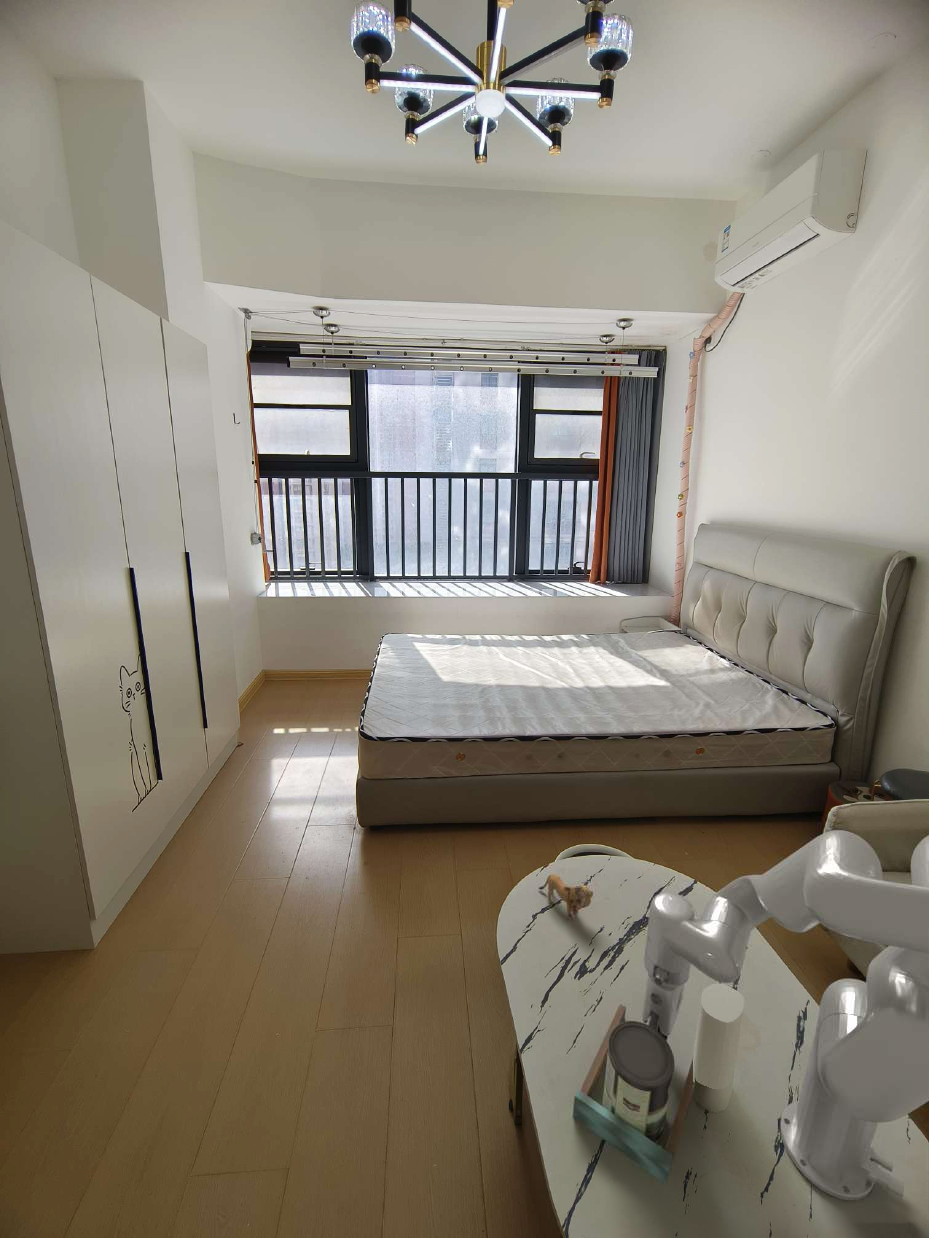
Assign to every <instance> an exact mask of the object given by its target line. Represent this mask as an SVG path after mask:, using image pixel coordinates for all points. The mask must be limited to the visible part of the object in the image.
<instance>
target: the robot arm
mask: <svg viewBox="0 0 929 1238" xmlns="http://www.w3.org/2000/svg"><path fill="white" fill-rule="evenodd" d="M910 860H911V861H910V874H911V884H908V883H902V882H901V883H900V882H895V881H887V880H884V879H883V868H882V865H881V864H882V863H881V861H880V859H879V857H878V855H877V853H876V851H875V849H874V848H873V847H872V845H870V844H869V843H868V842H867V841H866V840H865V839H863V838H862V837H861V836H860V835H857V834H856V833H853V832H850V831H848V830H843V829H841V830H840V829H839V830H837V829H834V830H831V831H830V830H829V831H826V832H823V833H822V834H820V835H818V836H816V837H815V838H813V839H811V841H809V842H807V843H806V844H805V845H804V846H801V848H799V849H798V850H796V851H795V852H794V853H791V854H790V855H789V856H787V857H786V858H784V859H782V861H780V862H779V863H777V864H775V865H774V866H773V867H772V868H770V869H769V870H767V871H765V872H764V873H762V874H751V875H744V876H740V877H737V878H736V879H734V880H733V881H730V882H729V883H728V884H727V885H725V886H724V887H723V888H721V889H720V890H718V891H717V892H716V893H714V894H713V895H712V896H711V897H710V898H709V900H707V902H706V904H705V906H704V908H703V909H702V913H701V915H700V919H699V920H698V916H697V912H696V908H695V907H694V906H693V904H692V903H691V902H690V901H689V900H688V899H687V898H686V897H684V896H682V895H681V894H679V893H678V894H677V893H676V892H667V891H664V892H660V893H659V894H656V895H655V896H654V897H653V898H652V900H651V903H650V906H649V913H648V921H647V932H646V939H645V947H644V957H643V958H644V959H643V967H644V970H645V971H646V972H647V974H648V975H647V980H646V984H645V985H646V987H645V992H644V1000H643V1006H642V1021H643V1023H644V1024H648V1025H649V1026H651V1027H652V1028H654V1029H655V1030H657V1031H658V1032H659V1033H660V1034H661V1035H662V1036H663V1037H664V1038H665V1040H666V1041H667V1042H668V1038H669V1036H670V1035H671V1034H672V1032H673V1029H674V1026H675V1023H676V1020H677V1017H678V1016H679V1015H678V1014H679V1013H680V1009H681V1005H682V1002H683V998H684V992H685V991H684V990H685V984H686V983H687V982H688V981H689V978H690V971H691V965H692V966H693V967H694V968H696V969H697V970H699V971H700V972H701V973H702V974H703V975H705V976H707V977H708V978H710V979H712V981H715V982H718V983H722V984H731V983H733V982H735V981H736V980H738V978H739V977H740V975H741V973H742V968H743V964H744V961H745V956H746V952H747V948H748V944H749V940H750V936H751V933H752V931H753V930H754V929H755V928H756V927H758V926H759V925H760V924H763V923H764V922H765V921H767V920H769V919H770V918H772V919H773V920H774V921H775V922H776V923H777V924H778V925H780V926H781V927H783V928H785V929H786V930H788V931H791V932H793V933H804V932H808V931H809V930H811V929H812V928H814V927H815V926H817V925H819V924H821V925H822V926H824V927H825V928H827V929H829V930H831V931H832V932H835V933H838V934H840V935H843V936H846V937H849V938H853V939H856V940H860V941H861V940H862V941H865V942H868V943H869V942H870V943H874V944H879V945H883V946H887V947H886V948H885V949H883V950H882V951H881V952H880V953H879V954H877V955H876V956H875V957H874V958H873V959H872V960H871V962H870V963H869V966H868V968H867V973H866V980H865V981H863V980H860V979H855V978H841V979H838V980H836V981H833V982H832V983H831V984H830V985H828V986H827V988H826V989H825V990H824V992H823V994H822V997H821V1000H820V1003H819V1010H818V1017H817V1021H816V1027H815V1032H814V1037H813V1040H812V1046H811V1049H810V1054H809V1057H808V1061H807V1065H806V1068H805V1072H804V1077H803V1082H802V1085H801V1088H800V1091H799V1097H798V1100H797V1101H794V1102H791V1103H790V1104H788V1105H787V1106H786V1107H785V1108H784V1110H783V1112H782V1114H781V1118H780V1123H779V1125H780V1135H781V1140H782V1144H783V1145H784V1148H785V1150H786V1151H787V1155H789V1158H790V1159H791V1161H792V1162H793V1163H794V1165H795V1166H796V1168H797V1169H798V1170H799V1171H800V1173H801V1174H802V1175H804V1177H805V1178H806V1179H808V1180H809V1181H810V1182H811V1183H812V1184H813V1185H815V1186H816V1187H817V1188H818V1189H820V1190H821V1191H823V1192H825V1193H826V1194H828V1195H831V1196H832V1197H835V1198H836V1199H840V1200H845V1201H850V1202H851V1201H859V1200H862V1199H865V1198H866V1197H867V1196H868V1195H869V1194H870V1193H871V1191H872V1189H873V1187H874V1185H876V1183H877V1184H879V1185H881V1186H882V1187H884V1188H886V1190H888V1191H889V1192H891V1193H893V1194H895V1195H896V1196H898V1197H899V1198H900V1199H902V1198H903V1197H904V1194H905V1193H904V1191H905V1184H904V1182H903V1181H902V1180H900V1179H899V1178H897V1177H895V1176H894V1175H892V1174H890V1173H888V1172H891V1173H892V1172H893V1167H894V1164H893V1163H894V1162H893V1161H892V1160H890V1159H889V1158H887V1157H886V1156H883V1155H881V1154H879V1153H878V1152H876V1151H875V1149H874V1148H873V1147H872V1146H871V1145H872V1143H873V1140H874V1137H875V1134H876V1130H877V1126H878V1124H879V1123H880V1124H881V1123H889V1122H895V1121H897V1120H900V1119H901V1118H903V1117H904V1116H905V1117H906V1116H907V1115H908V1114H910V1113H911V1112H913V1111H915V1110H916V1109H918V1108H920V1107H922V1106H923V1105H924V1104H926V1103H928V1102H929V834H928V835H927V836H925V837H924V838H922V839H921V841H919V843H918V844H917V845H916V847H915V848H914V850H913V853H912V855H911V858H910ZM878 1165H880V1166H881V1168H883V1169H885V1170H886V1171H888V1172H886V1171H883V1169H880V1168H879V1166H878Z"/></svg>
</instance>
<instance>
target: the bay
mask: <svg viewBox="0 0 929 1238" xmlns="http://www.w3.org/2000/svg"><path fill="white" fill-rule="evenodd" d="M626 1010H627V1006H624V1005H623V1004H622V1003H620V1004H619V1005H618V1006H617V1010H616V1012H615V1014H614V1016H613V1018H612V1020H611V1022H610V1025H609V1027H608V1029H607V1032H606V1033H605V1035H604V1038H603V1040H602V1042H601V1044H600V1046H599V1049H598V1051H597V1053H596V1055H595V1057H594V1059H593V1061H592V1063H591V1066H590V1068H589V1070H588V1072H587V1075H586V1076H585V1078H584V1081H583V1084H582V1085H581V1087H580V1089H578V1088H577V1090H576V1091H575V1094H574V1097H573V1098H574V1099H573V1110H572V1117H573V1118H574V1119H576V1120H577V1121H578V1122H580V1123H581V1124H583V1126H586V1127H587V1128H588V1129H589V1130H590V1131H592V1132H593V1133H594V1134H596V1135H598V1137H600V1138H602V1139H603V1140H604V1141H606V1142H607V1143H608V1144H610V1145H611V1147H612V1146H613V1148H615V1149H617V1150H618V1151H619V1152H620V1153H622V1154H624V1156H626V1157H628V1158H629V1159H630V1160H632V1161H633V1162H634V1163H636V1164H637V1165H638V1166H639V1167H641V1168H642V1169H643V1170H645V1171H647V1172H648V1173H649V1174H651V1175H652V1176H653V1177H655V1178H656V1179H657V1180H659V1181H660V1182H662V1184H664V1185H667V1184H668V1181H669V1178H670V1174H671V1170H672V1166H673V1163H674V1159H675V1156H676V1152H677V1150H678V1146H679V1142H680V1138H681V1134H682V1131H683V1128H684V1127H683V1126H684V1124H685V1120H686V1117H687V1113H688V1110H689V1105H690V1103H691V1100H692V1095H693V1093H692V1092H694V1089H693V1085H694V1082H693V1058H692V1059H691V1063H690V1066H689V1070H688V1072H687V1076H686V1079H685V1082H684V1085H683V1089H682V1092H681V1096H680V1099H679V1103H678V1105H677V1106H678V1107H677V1110H676V1114H675V1116H674V1119H673V1122H672V1126H671V1129H670V1132H669V1133H670V1134H669V1137H668V1139H667V1142H666V1146H665V1149H664V1148H663V1147H662V1146H660V1145H659V1144H658V1143H657V1144H656V1143H654V1142H653V1141H651V1140H650V1139H648V1138H647V1137H646V1136H644V1135H643V1134H641V1133H640V1132H638V1131H637V1130H636V1129H634V1128H633V1127H631V1126H630V1125H628V1124H627V1123H626V1122H624V1121H623V1120H621V1119H620V1118H618V1117H617V1116H616V1115H614V1114H613V1113H611V1112H610V1111H608V1110H607V1109H606V1108H604V1107H603V1106H602V1105H601V1104H600V1103H598V1102H597V1101H595V1100H594V1099H593V1098H592V1097H591V1096H592V1094H593V1091H594V1089H595V1088H596V1084H598V1083H597V1082H598V1081H599V1078H600V1076H601V1073H602V1071H603V1069H604V1067H605V1064H606V1063H607V1055H608V1038H609V1035H610V1033H611V1031H612V1030H613V1028H614V1027H615V1026H616V1025H618V1024H620V1023H622V1022H625V1019H626Z"/></svg>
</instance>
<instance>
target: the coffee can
mask: <svg viewBox="0 0 929 1238" xmlns="http://www.w3.org/2000/svg"><path fill="white" fill-rule="evenodd" d="M674 1057H675V1056H674V1054H673V1050H672V1048H671V1046H670V1044H669V1042H668V1040H667V1041H666V1040H665V1038H664V1037H663V1036H662V1035H661V1034H660V1033H659V1032H658V1031H657V1030H655V1029H654V1028H652V1027H651V1026H649V1024H648V1023H644V1022H642V1021H636V1020H626V1021H625V1020H624V1021H623V1022H622V1023H620V1024H618V1025H616V1026H615V1027H614V1028H613V1030H612V1031H611V1033H610V1035H609V1038H608V1055H607V1060H606V1069H605V1078H604V1085H603V1086H604V1087H603V1097H602V1101H601V1102H602V1105H601V1106H603V1107H604V1108H606V1109H607V1110H608V1111H610V1112H611V1113H613V1114H614V1115H616V1116H617V1117H618V1118H620V1119H621V1120H623V1121H624V1122H626V1123H627V1124H628V1125H630V1126H631V1127H633V1128H634V1129H636V1130H637V1131H638V1132H640V1133H641V1134H643V1135H644V1136H646V1137H647V1138H648V1139H650V1140H651V1141H653V1142H654V1143H656V1144H657V1145H658V1143H660V1141H661V1140H662V1139H663V1137H664V1134H665V1131H666V1130H665V1129H666V1121H667V1114H668V1113H667V1112H668V1104H669V1098H670V1092H671V1086H672V1078H673V1075H674V1072H675V1058H674Z"/></svg>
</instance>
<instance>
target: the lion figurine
mask: <svg viewBox="0 0 929 1238" xmlns="http://www.w3.org/2000/svg"><path fill="white" fill-rule="evenodd" d="M547 886H548V887H547ZM546 887H547V888H548V892H547V902H548V904H549V905H552V904H554V901H553V899H552V894H553V892H554V891H555V892H556V894H557V896H558V898H559V899H561V900H562V901H563V902H565V904H566V912H567V913H566V914H567V919H568V920H570V921H572V920H573V918H574V916H573V913H578V911H580V910H581V909H584V908H587V907H589V906H590V905H591V903H592V900H591V899H592V897H593V896H594V892H593V891H592V890H590V889H589V887H588V886H586V885H584V884H581V885H578V886H573V887H571V886H569V885H568V884H566V883H565V882H564V881H563V880H562V879H561V877H560V876H559V875H558V874H554V873H553V874H549V875H548V876H547V879H546V881H545V883H544V885H543V886H540V887H538V889H539V890H542V891H543V890H544V889H545V888H546ZM572 912H573V913H572Z"/></svg>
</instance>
